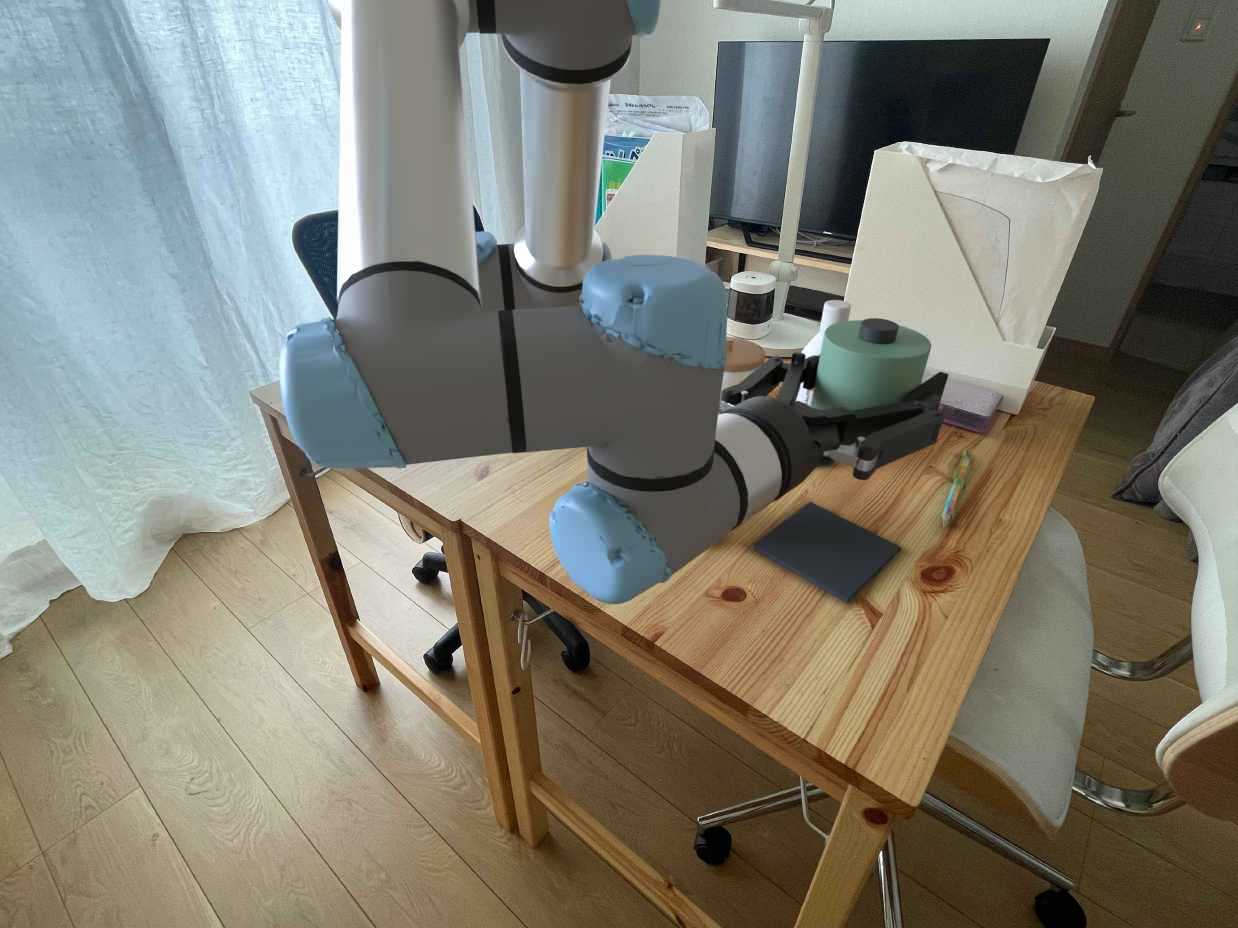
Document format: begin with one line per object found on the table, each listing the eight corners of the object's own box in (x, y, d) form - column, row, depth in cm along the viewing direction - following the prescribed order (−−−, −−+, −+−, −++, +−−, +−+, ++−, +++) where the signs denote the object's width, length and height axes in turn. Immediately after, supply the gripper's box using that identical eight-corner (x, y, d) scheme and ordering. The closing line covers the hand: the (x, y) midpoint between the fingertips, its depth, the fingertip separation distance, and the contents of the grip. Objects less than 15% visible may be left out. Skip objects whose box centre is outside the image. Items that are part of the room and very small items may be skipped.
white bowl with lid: (755, 384, 100) (763, 327, 95) (762, 416, 91) (770, 355, 86) (688, 380, 101) (692, 324, 96) (687, 412, 92) (691, 352, 87)
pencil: (948, 533, 69) (972, 458, 81) (951, 525, 68) (975, 451, 81) (936, 529, 69) (961, 455, 82) (939, 521, 69) (964, 448, 81)
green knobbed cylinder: (787, 427, 61) (806, 314, 55) (857, 410, 64) (882, 302, 58) (847, 472, 54) (876, 350, 48) (923, 451, 57) (959, 334, 51)
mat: (752, 548, 67) (752, 544, 66) (809, 505, 73) (810, 501, 73) (846, 603, 60) (848, 599, 60) (900, 551, 66) (901, 546, 66)
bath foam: (847, 459, 81) (883, 308, 70) (805, 472, 79) (835, 318, 68) (811, 434, 87) (840, 291, 76) (770, 446, 84) (794, 299, 73)
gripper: (636, 448, 54) (786, 372, 67) (868, 572, 41) (998, 448, 54) (638, 368, 50) (797, 304, 63) (895, 477, 37) (1029, 368, 50)
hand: (890, 370), depth 59 cm, fingers closed on green knobbed cylinder, 9 cm apart
